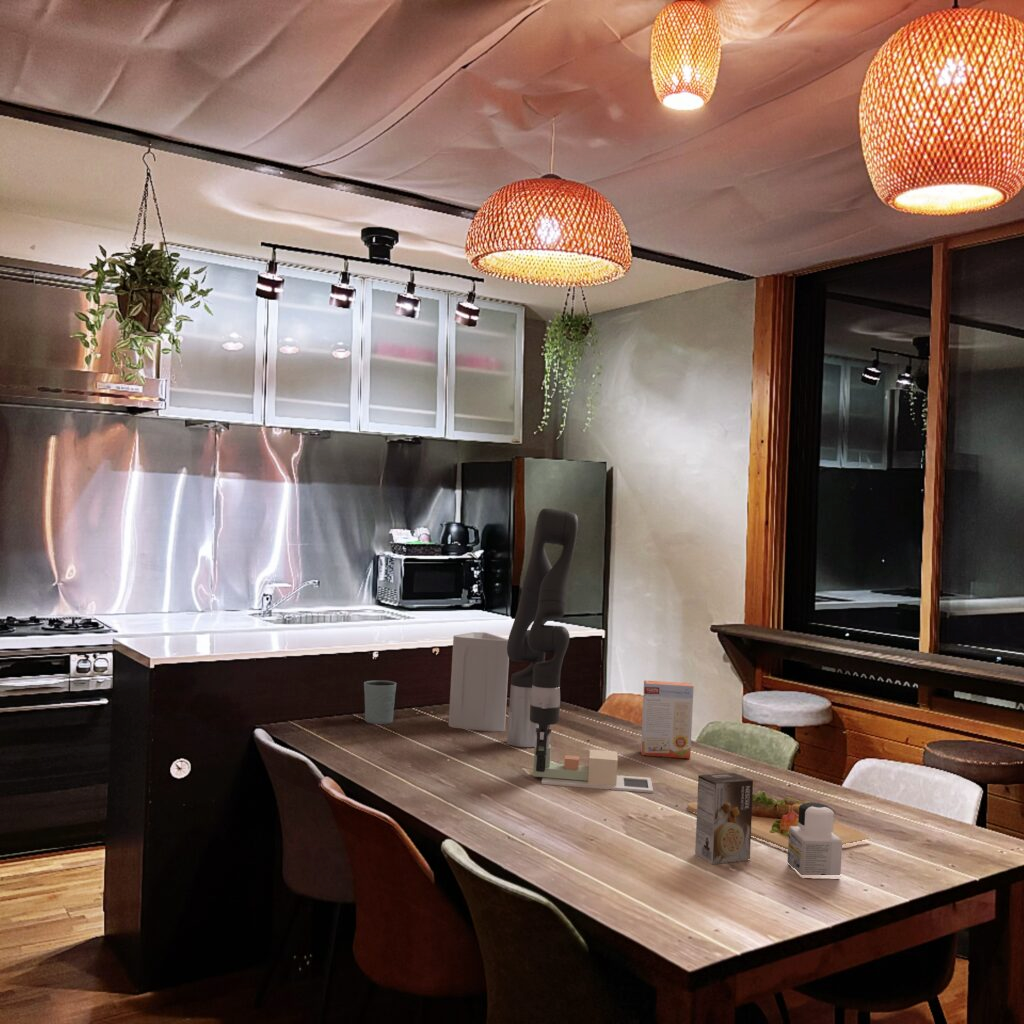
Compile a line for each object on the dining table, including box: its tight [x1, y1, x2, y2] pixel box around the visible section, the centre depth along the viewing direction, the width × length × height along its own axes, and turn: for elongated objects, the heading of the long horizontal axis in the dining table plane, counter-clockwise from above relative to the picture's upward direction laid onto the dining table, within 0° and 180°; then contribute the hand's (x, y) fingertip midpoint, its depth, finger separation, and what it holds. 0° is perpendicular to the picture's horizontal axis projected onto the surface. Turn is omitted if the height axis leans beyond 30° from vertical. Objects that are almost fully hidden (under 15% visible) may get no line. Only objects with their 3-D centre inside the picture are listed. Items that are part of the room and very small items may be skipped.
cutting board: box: [687, 790, 871, 849], centre depth 216 cm, size 35×23×8 cm
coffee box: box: [694, 772, 754, 865], centre depth 192 cm, size 9×6×16 cm
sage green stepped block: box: [532, 743, 589, 781], centre depth 244 cm, size 14×6×7 cm, turn 85°
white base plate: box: [541, 749, 654, 794], centre depth 243 cm, size 28×12×7 cm, turn 84°
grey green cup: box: [363, 679, 397, 725], centre depth 301 cm, size 10×10×12 cm
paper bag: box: [448, 631, 510, 733], centre depth 302 cm, size 19×15×28 cm
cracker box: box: [640, 680, 694, 760], centre depth 276 cm, size 14×6×21 cm, turn 84°
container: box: [786, 802, 843, 875], centre depth 186 cm, size 8×8×13 cm
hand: (541, 767), depth 245 cm, fingers open, 8 cm apart
